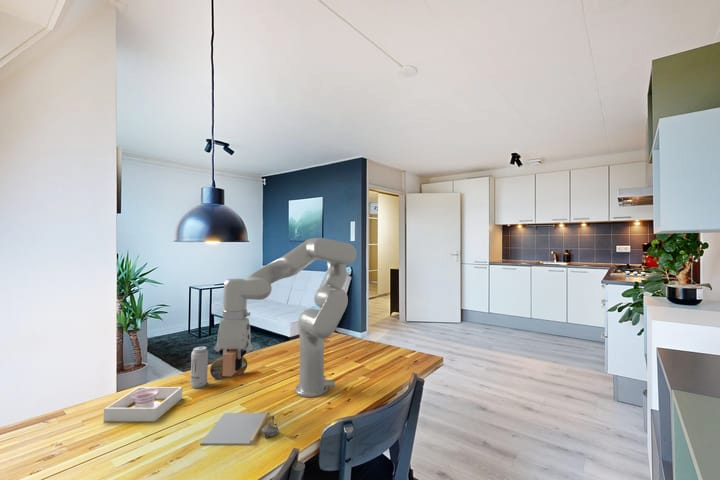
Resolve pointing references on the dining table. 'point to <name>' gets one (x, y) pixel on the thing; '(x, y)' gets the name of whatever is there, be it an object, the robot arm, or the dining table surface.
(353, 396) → the dining table surface
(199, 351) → the energy drink can
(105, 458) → the dining table surface
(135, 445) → the dining table surface
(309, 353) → the robot arm
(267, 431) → the figurine
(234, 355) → the block
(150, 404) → the teacup
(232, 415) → the mat
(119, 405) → the rectangular tray
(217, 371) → the tin
